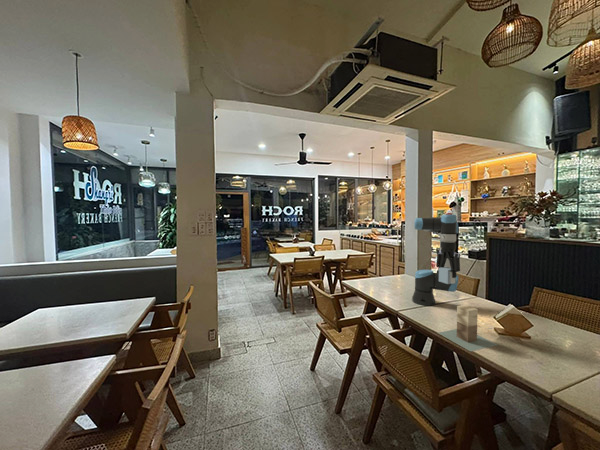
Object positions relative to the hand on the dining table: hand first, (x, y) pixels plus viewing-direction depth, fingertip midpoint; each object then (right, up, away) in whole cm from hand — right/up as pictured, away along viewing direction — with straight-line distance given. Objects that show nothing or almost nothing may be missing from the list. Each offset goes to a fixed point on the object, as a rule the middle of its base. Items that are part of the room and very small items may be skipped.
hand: (447, 281), depth 136 cm
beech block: (0, -17, -16) cm, 23 cm away
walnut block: (0, -25, -15) cm, 30 cm away
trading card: (+18, -26, +5) cm, 32 cm away
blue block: (0, 0, 0) cm, 0 cm away
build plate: (0, -26, -15) cm, 31 cm away
